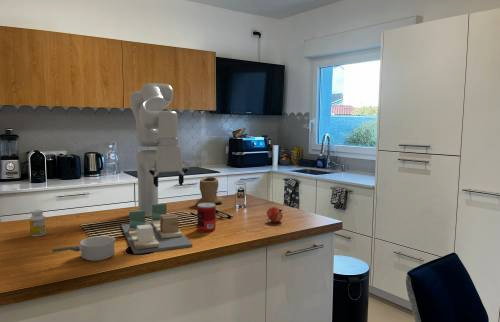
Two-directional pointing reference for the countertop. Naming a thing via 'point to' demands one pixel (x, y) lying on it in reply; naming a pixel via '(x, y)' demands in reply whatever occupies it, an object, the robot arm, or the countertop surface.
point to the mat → (163, 242)
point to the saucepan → (93, 248)
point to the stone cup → (209, 191)
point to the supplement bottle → (37, 223)
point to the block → (144, 233)
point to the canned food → (206, 217)
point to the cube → (169, 223)
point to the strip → (156, 212)
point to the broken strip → (136, 220)
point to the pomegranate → (274, 214)
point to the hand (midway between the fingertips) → (168, 185)
